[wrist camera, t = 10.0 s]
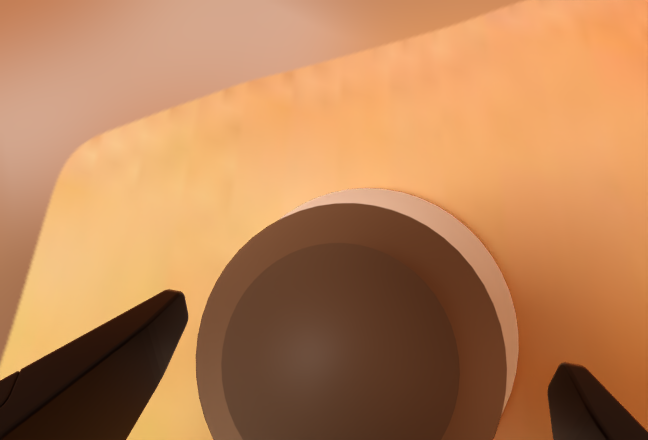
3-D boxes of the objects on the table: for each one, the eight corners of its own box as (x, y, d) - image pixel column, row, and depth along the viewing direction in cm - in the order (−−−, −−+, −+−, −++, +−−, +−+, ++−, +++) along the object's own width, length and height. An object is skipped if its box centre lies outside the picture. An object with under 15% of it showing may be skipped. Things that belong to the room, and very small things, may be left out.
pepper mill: (436, 367, 17) (616, 520, 4) (330, 400, 17) (199, 638, 4) (397, 260, 18) (448, 132, 5) (299, 293, 18) (128, 242, 6)
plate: (522, 494, 16) (531, 505, 15) (220, 468, 18) (212, 476, 17) (500, 193, 19) (507, 186, 18) (243, 194, 21) (237, 188, 20)
